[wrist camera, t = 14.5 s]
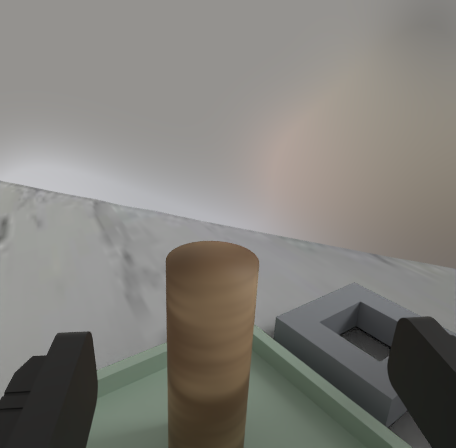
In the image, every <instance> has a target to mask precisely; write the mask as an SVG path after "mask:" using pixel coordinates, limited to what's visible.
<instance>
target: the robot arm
mask: <svg viewBox="0 0 456 448" xmlns="http://www.w3.org/2000/svg"><path fill="white" fill-rule="evenodd" d="M387 371H388V377H389V380H390V383H391V385H392V387H393V389H394V390H395V392H396V393H397V395H398V396H399V398H400V399H401V401H402V402H403V404H404V405H405V407H406V409H407V410H408V412H409V413H410V415H411V416H412V418H413V419H414V421H415V422H416V424H417V425H418V427H419V428H420V430H421V431H422V433H423V435H424V436H425V438H426V439H427V441H428V442H429V444H430V445H431V447H432V448H456V337H455V336H454V335H450V334H449V333H448V332H447V331H446V330H445V329H444V328H443V327H442V326H441V325H440V324H439V323H438V322H437V321H436V320H435V319H434V318H432V317H406V318H401V319H399V320H398V322H397V325H396V329H395V333H394V337H393V341H392V346H391V350H390V354H389V358H388V363H387ZM97 395H98V378H97V370H96V362H95V354H94V347H93V339H92V334H91V332H68V333H58V334H57V335H56V336H55V338H54V340H53V342H52V345H51V347H50V349H49V351H48V354H47V355H46V356H32V357H31V358H30V359H29V360H28V361H27V362H26V363H25V364H24V365H23V366H22V367H21V368H19V369H18V370H17V371H16V372H15V373H14V375H13V377H12V379H11V381H10V383H9V385H8V387H7V388H6V390H5V392H4V396H2V398H1V400H0V448H86V446H87V441H88V437H89V433H90V429H91V425H92V421H93V417H94V412H95V408H96V403H97Z"/></svg>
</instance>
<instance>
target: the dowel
mask: <svg viewBox="0 0 456 448" xmlns="http://www.w3.org/2000/svg"><path fill="white" fill-rule="evenodd" d="M258 271H259V260H258V258H257V256H256V255H255V254H254V253H253V252H251V251H250V250H248V249H246V248H244V247H242V246H239V245H236V244H232V243H227V242H220V241H200V242H193V243H188V244H185V245H182V246H179V247H177V248H175V249H174V250H172V251H171V252H170V253H169V254H168V256H167V258H166V309H167V386H168V448H244V437H245V425H246V413H247V402H248V390H249V378H250V366H251V354H252V342H253V330H254V318H255V307H256V295H257V283H258Z"/></svg>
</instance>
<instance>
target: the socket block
mask: <svg viewBox="0 0 456 448" xmlns="http://www.w3.org/2000/svg"><path fill="white" fill-rule="evenodd" d="M406 317H422V316H420V315H418V314H416V313H414V312H412V311H410V310H408V309H406V308H404V307H402V306H400V305H398V304H396V303H394V302H392V301H390V300H388V299H386V298H384V297H382V296H380V295H378V294H376V293H374V292H373V291H371V290H369V289H367V288H365V287H363V286H361V285H359V284H357V283H355V282H354V283H352V284H349V285H347V286H345V287H343V288H340V289H338V290H336V291H334V292H331V293H329V294H327V295H325V296H322V297H320V298H318V299H316V300H313V301H311V302H309V303H307V304H304V305H302V306H300V307H298V308H295V309H293V310H291V311H289V312H286V313H284V314H282V315H280V316H277V317H276V323H275V333H274V340H275V341H276V342H278V343H279V344H280V345H281V346H283V347H284V348H285V349H287V350H288V351H289V352H290V353H292V354H293V355H294V356H296V357H297V358H298V359H299V360H301V361H302V362H303V363H305V364H306V365H307V366H308V367H310V368H311V369H312V370H314V371H315V372H316V373H317V374H319V375H320V376H321V377H322V378H324V379H325V380H326V381H328V382H329V383H330V384H331V385H333V386H334V387H335V388H337V389H338V390H339V391H340V392H342V393H343V394H344V395H346V396H347V397H348V398H349V399H351V400H352V401H353V402H355V403H356V404H357V405H358V406H360V407H361V408H362V409H364V410H365V411H366V412H367V413H369V414H370V415H371V416H373V417H374V418H375V419H376V420H378V421H379V422H380V423H382V424H383V425H384V426H385V427H387V428H388V427H389V426H390V425H391V424H392V423H394V422H395V421H396V420H397V419H398V418H399V417H401V416H402V415H403V414H404V413H405V412H406V411H408V410H407V409H406V407H405V405H404V404H403V402H402V401H401V399H400V398H399V396H398V395H397V393H396V392H395V390H394V389H393V387H392V385H391V383H390V380H389V377H388V371H387V363H388V358H389V356H388V357H386V358H385V359H383V360H382V361H378V360H376V359H375V358H373V357H372V356H370V355H369V354H367V353H366V352H364V351H363V350H361V349H360V348H358V347H356V346H355V345H353V344H352V343H350V342H349V341H347V340H346V339H344V338H343V337H341V336H340V334H342V333H344V332H346V331H347V330H349V329H351V328H353V327H355V326H357V327H358V328H360V329H362V330H363V331H365V332H367V333H368V334H370V335H372V336H373V337H375V338H377V339H378V340H380V341H382V342H383V343H385V344H387V345H388V346H390V347H391V346H392V341H393V337H394V333H395V329H396V325H397V322H398V320H399V319H401V318H406ZM444 329H445V328H444ZM445 330H446V331H447V332H448V333H449V334H450V335H454V336H455V337H456V334H455V333H453V332H451V331H449V330H447V329H445Z"/></svg>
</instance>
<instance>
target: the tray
mask: <svg viewBox="0 0 456 448" xmlns="http://www.w3.org/2000/svg"><path fill="white" fill-rule="evenodd" d="M97 378H98V395H97V403H96V408H95V412H94V417H93V421H92V425H91V429H90V433H89V437H88V441H87V446H86V448H168V386H167V342H166V343H164V344H161V345H159V346H156V347H154V348H151V349H149V350H146V351H144V352H141V353H139V354H137V355H134V356H132V357H129V358H127V359H124V360H122V361H119V362H117V363H114V364H112V365H109V366H107V367H104V368H102V369H100V370H97ZM244 448H412V447H411V446H410V445H408V444H407V443H406V442H405V441H403V440H402V439H401V438H400V437H398V436H397V435H396V434H394V433H393V432H392V431H391V430H389V429H388V428H387V427H385V426H384V425H383V424H382V423H380V422H379V421H378V420H376V419H375V418H374V417H373V416H371V415H370V414H369V413H367V412H366V411H365V410H364V409H362V408H361V407H360V406H358V405H357V404H356V403H355V402H353V401H352V400H351V399H349V398H348V397H347V396H346V395H344V394H343V393H342V392H340V391H339V390H338V389H337V388H335V387H334V386H333V385H331V384H330V383H329V382H328V381H326V380H325V379H324V378H322V377H321V376H320V375H319V374H317V373H316V372H315V371H314V370H312V369H311V368H310V367H308V366H307V365H306V364H305V363H303V362H302V361H301V360H299V359H298V358H297V357H296V356H294V355H293V354H292V353H290V352H289V351H288V350H287V349H285V348H284V347H283V346H281V345H280V344H279V343H278V342H276V341H275V340H274V339H272V338H271V337H270V336H269V335H267V334H266V333H265V332H263V331H262V330H261V329H260V328H258V327H257V326H256V325H254V330H253V342H252V354H251V366H250V378H249V390H248V402H247V413H246V425H245V437H244Z"/></svg>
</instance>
